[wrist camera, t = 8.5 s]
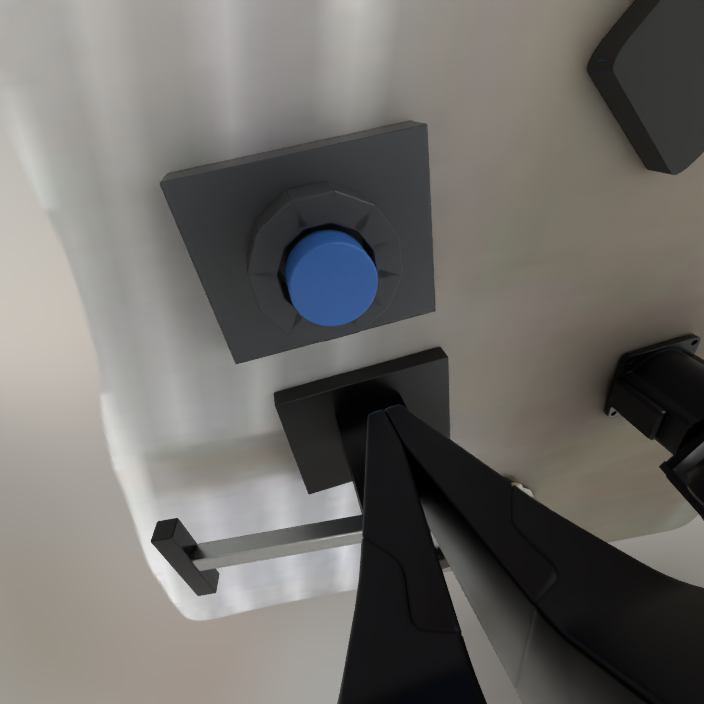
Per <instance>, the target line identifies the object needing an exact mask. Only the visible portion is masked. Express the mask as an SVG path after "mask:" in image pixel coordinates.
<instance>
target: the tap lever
mask: <svg viewBox="0 0 704 704" xmlns="http://www.w3.org/2000/svg"><path fill="white" fill-rule="evenodd" d="M362 527H363V515H358V516H353V517H347V518H341V519H336V520H330V521H324V522H319V523H313V524H307V525H302V526H296V527H291V528H285V529H279V530H274V531H268V532H262V533H257V534H251V535H245V536H240V537H234V538H228V539H223V540H217V541H211V542H206V543H200V544H197V543H196V542H195V540H194V539H193V538H192V536H191V535H190V534H189V532H188V531H187V530H186V528H185V527H184V525H183V524H182V523H181V521H180V520H179V519H178V518H174V519H169V520H163V521H158V522H157V524H156V527H155V530H154V533H153V536H152V539H151V543H152V544H153V545H154V546H155V547H156V548H157V550H158V551H159V552H160V553H161V554H162V555H163V556H164V558H165V559H166V560H167V561H168V562H169V563H170V565H171V566H172V567H173V568H174V569H175V570H176V571H177V573H178V574H179V575H180V576H181V577H182V578H183V579H184V581H185V582H186V583H187V584H188V585H189V586H190V587H191V589H192V590H193V591H194V592H195V593H196V594H197V596H201V595H207V594H212V593H216V590H217V585H218V579H219V572H218V571H217V570H216V568H221V567H227V566H232V565H238V564H244V563H249V562H255V561H261V560H267V559H272V558H278V557H284V556H289V555H295V554H301V553H306V552H312V551H318V550H323V549H329V548H335V547H341V546H346V545H352V544H358V543H362V539H363V537H362ZM430 533H431V536H432V539H433V542H434V546H435V549H437V548H439V545H438V543H437V541H436V539H435V537H434V535H433V533H432V532H430Z"/></svg>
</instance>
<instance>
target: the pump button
mask: <svg viewBox="0 0 704 704" xmlns="http://www.w3.org/2000/svg"><path fill="white" fill-rule="evenodd" d="M285 277H286V282H287V286H288V290H289V295H290V299H291V301H292V304H293V305H294V307H295V309H296V310H297V311H298V313H299V314H300V315H301V316H303V317H304V318H305V319H307V320H309V321H310V322H313V323H315V324H318V325H323V326H338V325H343V324H346V323H349V322H351V321H353V320H355V319H356V318H358V317H359V316H360V315H362V314H363V313H364V312H365V311H366V310H367V309H368V307H369V306H370V304H371V303H372V301H373V299H374V297H375V294H376V291H377V286H378V275H377V270H376V268H375V265H374V263H373V261H372V259H371V258H370V257H369V255H368V254H367V253H366V251H365V250H364V249H363V248H362V246H361V245H360V244H359V242H358V241H357V240H356V239H354V238H353V237H352V236H350V235H349V234H347V233H344V232H342V231H338V230H332V229H326V230H319V231H315V232H312V233H310V234H308V235H306V236H305V237H303V238H302V239H301V240H299V241H298V242H297V243H296V244H295V246H294V247H293V248H292V250H291V251H290V253H289V255H288V258H287V261H286V265H285Z"/></svg>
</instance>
